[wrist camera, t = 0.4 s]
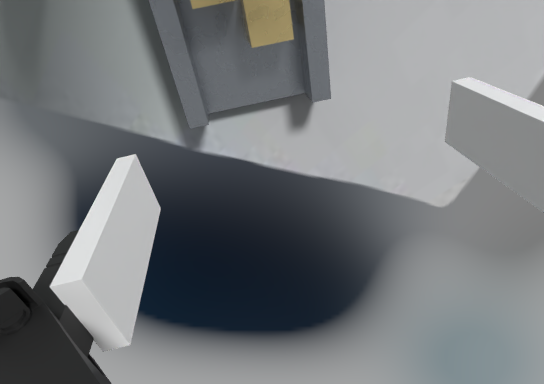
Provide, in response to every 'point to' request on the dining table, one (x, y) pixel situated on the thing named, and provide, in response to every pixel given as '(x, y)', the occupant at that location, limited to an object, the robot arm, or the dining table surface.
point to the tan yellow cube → (267, 21)
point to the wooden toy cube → (206, 3)
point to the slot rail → (240, 57)
